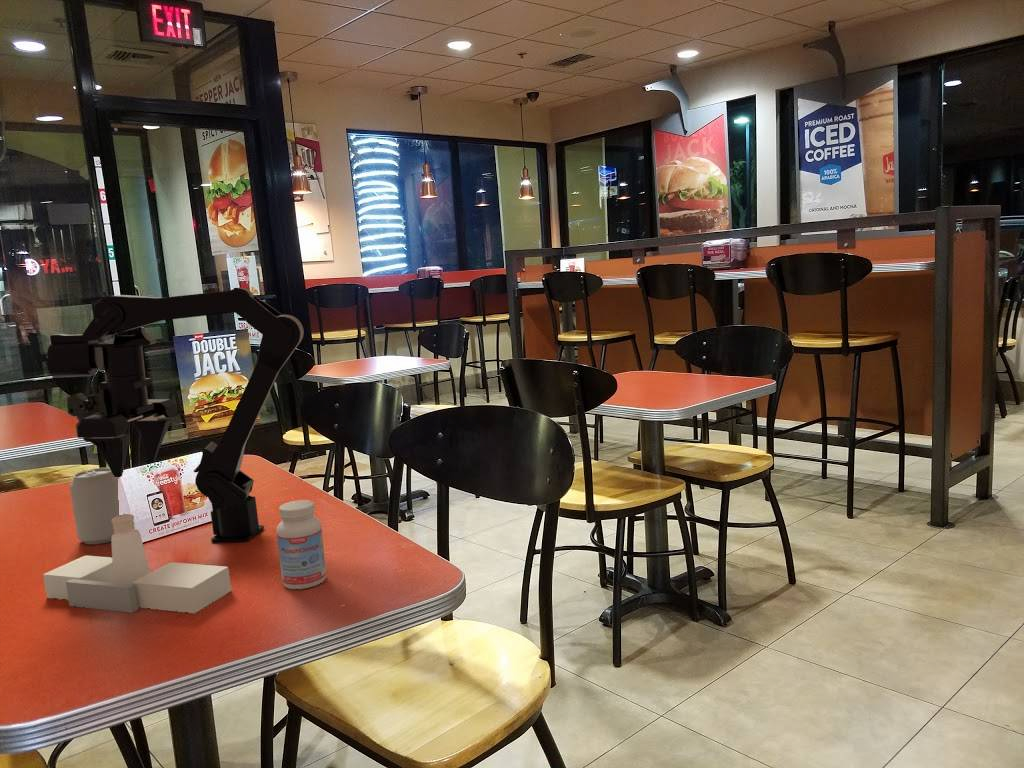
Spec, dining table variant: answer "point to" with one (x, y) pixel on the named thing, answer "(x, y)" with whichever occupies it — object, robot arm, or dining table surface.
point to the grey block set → (137, 586)
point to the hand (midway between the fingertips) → (135, 469)
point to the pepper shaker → (127, 551)
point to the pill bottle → (300, 545)
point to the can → (95, 504)
